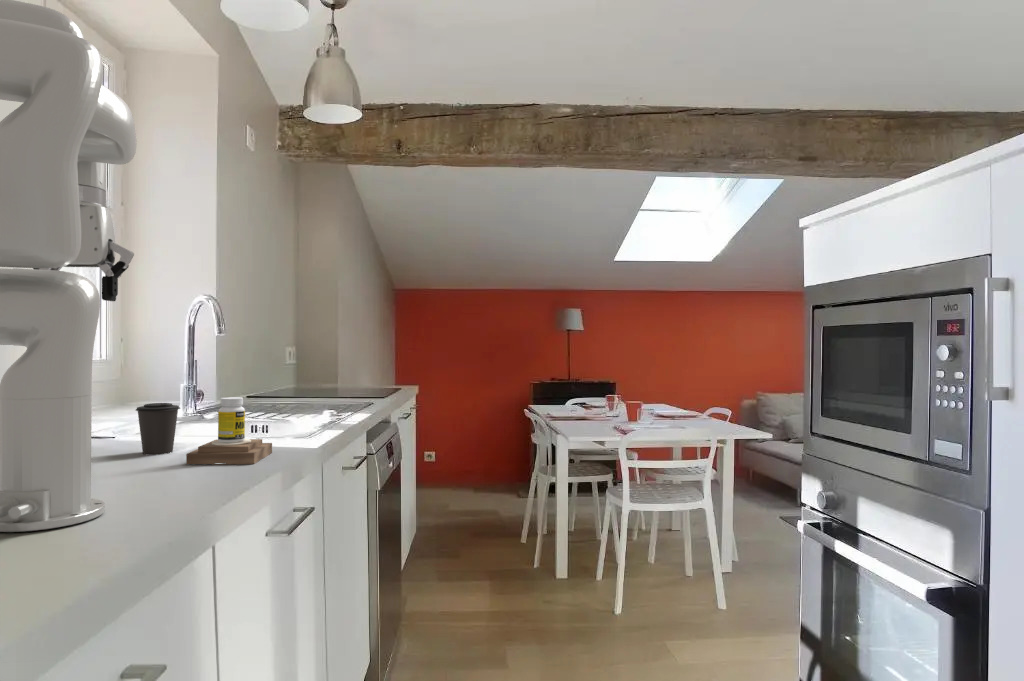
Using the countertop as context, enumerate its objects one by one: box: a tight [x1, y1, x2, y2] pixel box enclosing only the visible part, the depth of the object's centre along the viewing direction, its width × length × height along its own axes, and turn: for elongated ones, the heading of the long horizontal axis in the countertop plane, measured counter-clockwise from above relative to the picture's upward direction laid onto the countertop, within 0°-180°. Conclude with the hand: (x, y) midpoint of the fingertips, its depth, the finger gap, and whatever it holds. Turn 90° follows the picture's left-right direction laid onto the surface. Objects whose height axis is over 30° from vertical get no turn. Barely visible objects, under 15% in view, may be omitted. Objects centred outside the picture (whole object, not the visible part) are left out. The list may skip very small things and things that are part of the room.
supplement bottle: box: [217, 396, 246, 443], centre depth 125 cm, size 5×5×8 cm
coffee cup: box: [135, 402, 181, 455], centre depth 132 cm, size 8×8×10 cm
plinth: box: [185, 438, 273, 465], centre depth 125 cm, size 12×12×3 cm
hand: (79, 300), depth 110 cm, fingers open, 9 cm apart
